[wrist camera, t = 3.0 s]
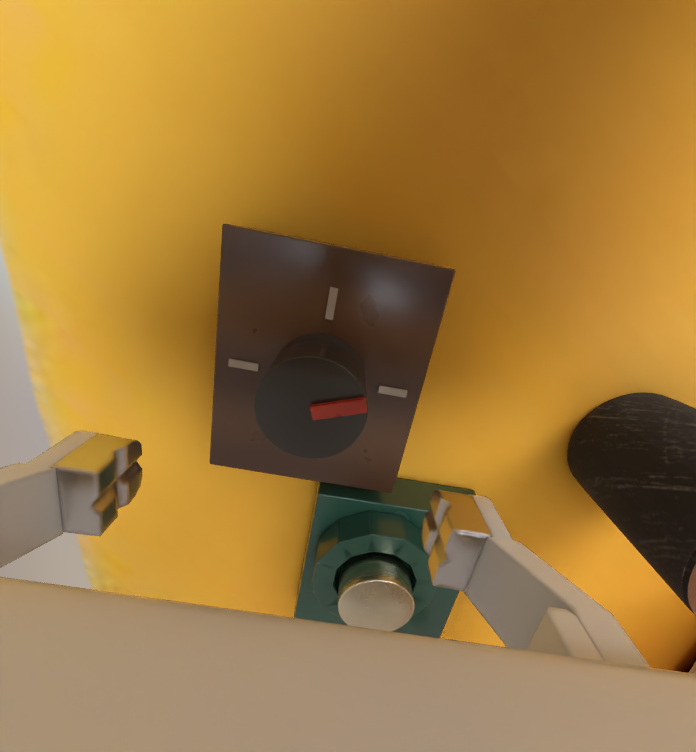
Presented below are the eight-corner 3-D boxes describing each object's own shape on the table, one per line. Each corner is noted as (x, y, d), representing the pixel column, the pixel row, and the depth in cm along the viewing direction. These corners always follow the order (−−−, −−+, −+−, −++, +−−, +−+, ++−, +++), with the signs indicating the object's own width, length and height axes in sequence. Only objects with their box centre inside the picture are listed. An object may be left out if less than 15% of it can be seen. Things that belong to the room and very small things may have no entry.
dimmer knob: (284, 424, 18) (267, 470, 14) (263, 341, 16) (237, 369, 13) (371, 412, 17) (375, 455, 14) (357, 326, 16) (358, 350, 12)
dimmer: (243, 226, 17) (220, 222, 14) (439, 265, 18) (457, 270, 15) (227, 435, 21) (207, 466, 18) (387, 462, 22) (392, 496, 19)
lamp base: (321, 464, 22) (314, 517, 18) (474, 490, 23) (501, 546, 18) (296, 596, 26) (286, 664, 22) (425, 615, 27) (439, 684, 23)
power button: (345, 546, 19) (345, 575, 17) (417, 557, 19) (423, 586, 18) (333, 597, 20) (332, 628, 19) (400, 607, 21) (404, 638, 19)
